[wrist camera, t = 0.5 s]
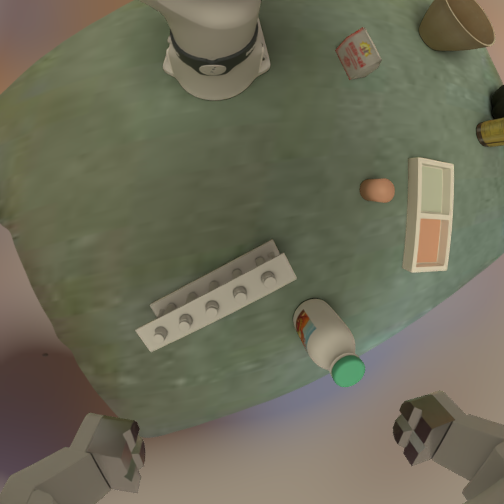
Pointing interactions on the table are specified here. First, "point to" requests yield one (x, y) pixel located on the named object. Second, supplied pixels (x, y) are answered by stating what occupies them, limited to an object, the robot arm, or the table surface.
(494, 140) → the sauce bottle
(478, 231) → the table surface
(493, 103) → the squash
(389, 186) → the brown egg
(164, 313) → the test tube rack
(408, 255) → the sorting tray
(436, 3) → the plant pot
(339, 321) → the milk bottle
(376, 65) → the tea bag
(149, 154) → the table surface
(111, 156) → the table surface
